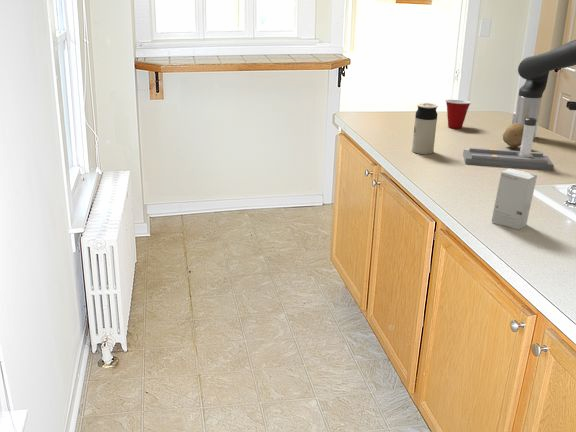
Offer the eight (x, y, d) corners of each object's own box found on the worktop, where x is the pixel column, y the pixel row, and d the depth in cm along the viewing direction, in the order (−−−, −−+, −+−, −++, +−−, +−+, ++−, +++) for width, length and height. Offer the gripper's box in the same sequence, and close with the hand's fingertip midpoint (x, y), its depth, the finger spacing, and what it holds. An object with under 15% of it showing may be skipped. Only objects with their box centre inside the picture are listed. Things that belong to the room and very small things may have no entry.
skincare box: (491, 222, 184) (498, 171, 179) (500, 217, 188) (507, 167, 183) (520, 230, 179) (529, 178, 174) (528, 224, 184) (537, 173, 178)
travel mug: (435, 150, 253) (440, 104, 247) (430, 155, 246) (435, 107, 240) (414, 148, 256) (419, 101, 250) (409, 152, 249) (414, 105, 243)
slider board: (546, 161, 244) (547, 152, 243) (552, 170, 233) (554, 161, 232) (463, 154, 249) (464, 146, 248) (465, 163, 238) (466, 154, 236)
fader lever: (530, 155, 242) (536, 117, 236) (533, 160, 236) (539, 121, 231) (516, 154, 242) (522, 116, 237) (518, 159, 237) (524, 120, 232)
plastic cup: (468, 126, 293) (472, 99, 289) (466, 131, 284) (470, 103, 280) (443, 123, 297) (446, 97, 292) (440, 128, 287) (444, 101, 283)
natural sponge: (526, 152, 255) (531, 126, 251) (502, 150, 257) (506, 125, 253) (523, 146, 263) (527, 121, 260) (500, 144, 265) (504, 120, 261)
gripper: (617, 94, 233) (565, 91, 235) (628, 101, 220) (574, 98, 222) (612, 115, 236) (561, 112, 238) (624, 124, 223) (570, 120, 225)
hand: (568, 105), depth 230 cm, fingers open, 3 cm apart
